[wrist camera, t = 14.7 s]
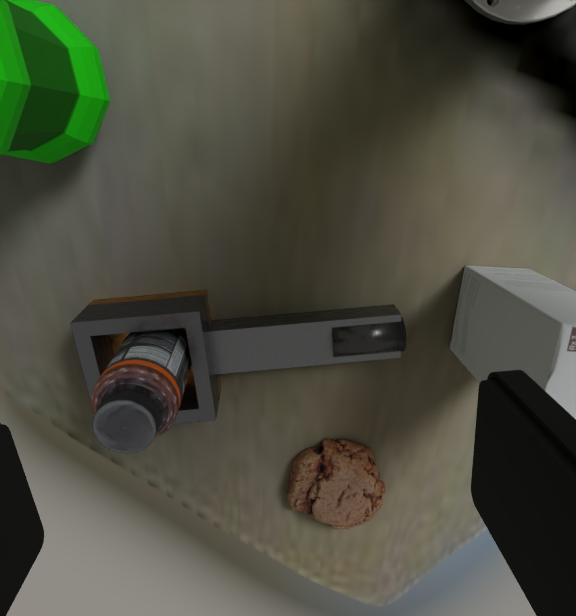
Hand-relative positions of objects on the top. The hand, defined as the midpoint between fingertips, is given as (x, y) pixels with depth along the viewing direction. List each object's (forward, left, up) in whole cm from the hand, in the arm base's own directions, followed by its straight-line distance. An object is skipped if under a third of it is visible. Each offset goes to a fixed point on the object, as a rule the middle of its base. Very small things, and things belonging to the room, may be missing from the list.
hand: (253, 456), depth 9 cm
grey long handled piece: (+2, +11, -30) cm, 32 cm away
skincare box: (-19, +10, -31) cm, 37 cm away
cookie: (-5, +28, -31) cm, 42 cm away
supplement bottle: (+10, +11, -29) cm, 33 cm away
